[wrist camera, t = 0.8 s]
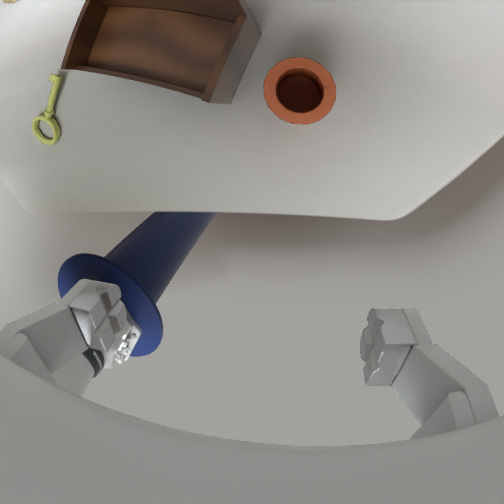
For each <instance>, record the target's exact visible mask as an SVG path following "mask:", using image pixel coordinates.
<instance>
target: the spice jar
mask: <svg viewBox="0 0 504 504" xmlns="http://www.w3.org/2000/svg"><path fill="white" fill-rule="evenodd" d="M335 86H336V85H335V83H334V81H333V78H332V76H331V74H330V73H329V72H328V71H327V70H326V69H325V68H324V67H323V66H322V65H321V64H320V63H317V62H315V61H313V60H310V59H308V58H297V57H293V58H289V59H286V60H283V61H280V62H278V63H277V64H276V65H275V66H274V67H273V68H272V69H271V70H270V71H269V72H268V74H267V77H266V79H265V81H264V98H265V100H266V102H267V104H268V107H269V108H270V110H271V111H273V112H274V113H275V114H276V115H277V116H278V117H279V118H280V119H283V120H285V121H287V122H290V123H293V124H310V123H313V122H316V121H319V120H321V119H322V118H323V117H324V116H325V115H327V114H328V113H329V112H330V111H331V108H332V106H333V104H334V102H335V99H336V87H335Z"/></svg>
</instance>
